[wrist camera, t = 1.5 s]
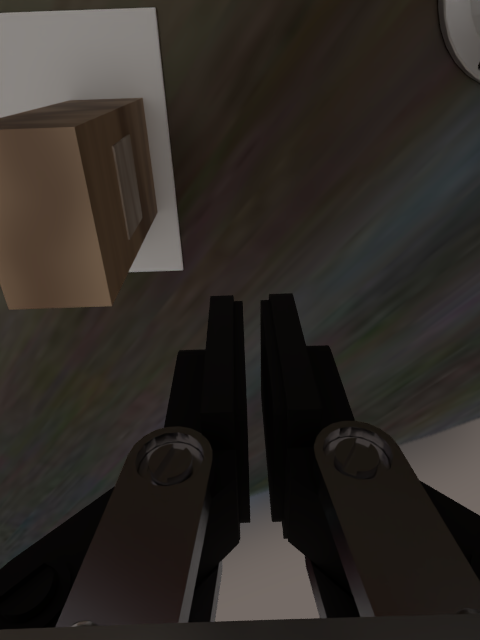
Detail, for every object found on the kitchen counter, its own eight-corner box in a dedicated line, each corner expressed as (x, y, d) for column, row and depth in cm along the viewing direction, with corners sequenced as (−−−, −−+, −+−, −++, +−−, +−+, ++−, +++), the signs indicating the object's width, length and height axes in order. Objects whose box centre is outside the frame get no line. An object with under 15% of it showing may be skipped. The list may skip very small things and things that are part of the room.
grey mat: (155, 8, 27) (154, 7, 27) (183, 268, 37) (183, 270, 36) (-221, 21, 28) (-227, 21, 27) (-99, 277, 37) (-102, 279, 36)
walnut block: (144, 97, 30) (77, 126, 17) (158, 212, 34) (114, 305, 21) (70, 100, 30) (-54, 131, 17) (93, 214, 34) (9, 309, 21)
